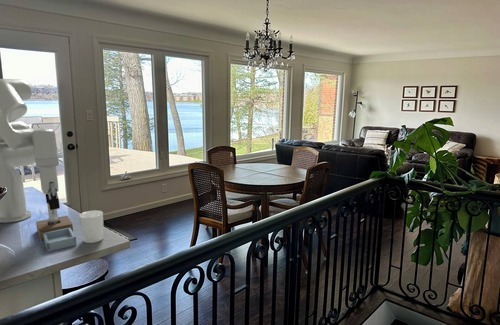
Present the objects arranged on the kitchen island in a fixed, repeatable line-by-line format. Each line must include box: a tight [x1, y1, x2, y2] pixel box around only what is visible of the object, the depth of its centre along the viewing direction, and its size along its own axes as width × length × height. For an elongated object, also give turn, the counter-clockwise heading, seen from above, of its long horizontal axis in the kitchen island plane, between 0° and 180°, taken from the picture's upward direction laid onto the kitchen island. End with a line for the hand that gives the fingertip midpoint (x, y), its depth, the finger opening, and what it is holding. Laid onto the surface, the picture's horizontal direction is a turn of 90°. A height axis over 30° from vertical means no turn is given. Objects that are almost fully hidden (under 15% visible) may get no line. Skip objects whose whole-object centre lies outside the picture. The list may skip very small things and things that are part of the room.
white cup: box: [78, 209, 104, 244], centre depth 124 cm, size 8×8×10 cm
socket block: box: [35, 215, 74, 241], centre depth 131 cm, size 11×11×4 cm
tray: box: [43, 228, 77, 252], centre depth 122 cm, size 11×9×3 cm
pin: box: [47, 204, 59, 225], centre depth 130 cm, size 3×3×12 cm
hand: (53, 205), depth 129 cm, fingers open, 9 cm apart
